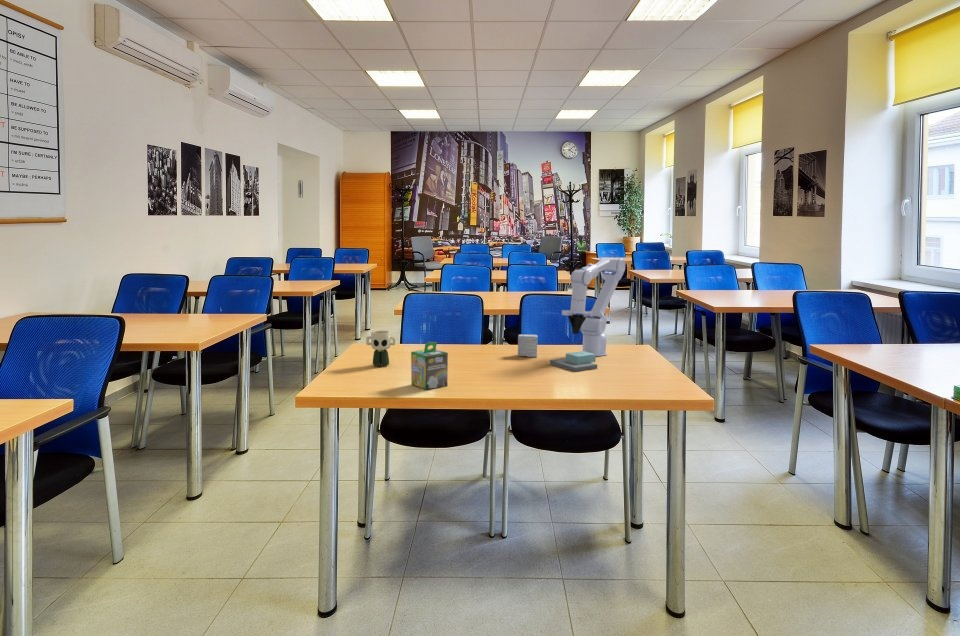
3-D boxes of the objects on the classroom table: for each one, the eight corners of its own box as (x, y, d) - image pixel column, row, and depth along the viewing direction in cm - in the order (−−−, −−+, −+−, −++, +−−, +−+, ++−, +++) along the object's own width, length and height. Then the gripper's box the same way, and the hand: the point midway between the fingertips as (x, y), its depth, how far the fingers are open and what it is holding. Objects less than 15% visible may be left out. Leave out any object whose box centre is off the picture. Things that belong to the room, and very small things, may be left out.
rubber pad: (571, 361, 255) (571, 357, 255) (597, 368, 242) (597, 364, 242) (549, 363, 249) (549, 360, 249) (575, 371, 237) (575, 367, 236)
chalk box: (432, 380, 220) (432, 338, 218) (448, 386, 213) (448, 342, 211) (410, 384, 214) (410, 341, 212) (425, 390, 207) (425, 345, 205)
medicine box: (537, 355, 265) (537, 334, 264) (536, 357, 261) (537, 336, 260) (518, 354, 266) (518, 334, 265) (517, 356, 262) (518, 336, 260)
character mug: (365, 367, 238) (365, 333, 236) (367, 363, 245) (367, 330, 243) (394, 367, 238) (394, 333, 237) (396, 363, 245) (395, 330, 244)
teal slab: (583, 351, 252) (566, 353, 248) (595, 354, 247) (578, 356, 242) (583, 358, 253) (565, 360, 248) (595, 361, 247) (577, 364, 242)
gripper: (585, 300, 263) (582, 332, 264) (558, 298, 255) (555, 332, 256) (597, 301, 257) (594, 335, 258) (569, 299, 249) (566, 334, 250)
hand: (575, 333), depth 257 cm, fingers closed
